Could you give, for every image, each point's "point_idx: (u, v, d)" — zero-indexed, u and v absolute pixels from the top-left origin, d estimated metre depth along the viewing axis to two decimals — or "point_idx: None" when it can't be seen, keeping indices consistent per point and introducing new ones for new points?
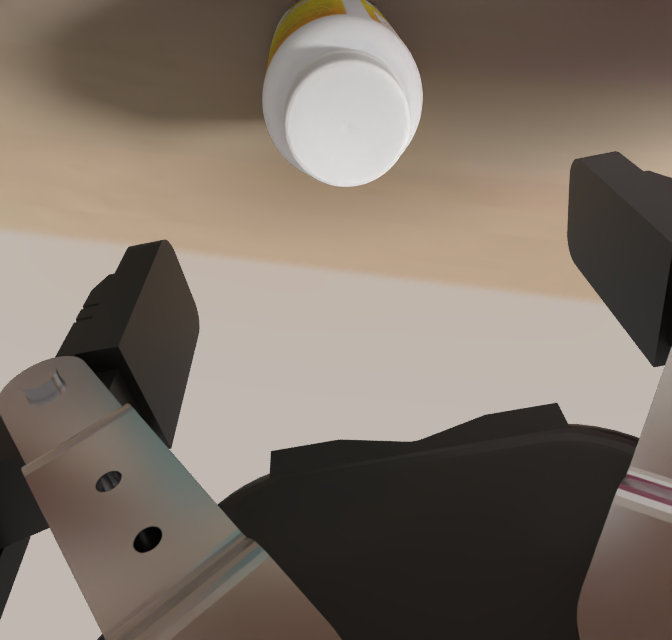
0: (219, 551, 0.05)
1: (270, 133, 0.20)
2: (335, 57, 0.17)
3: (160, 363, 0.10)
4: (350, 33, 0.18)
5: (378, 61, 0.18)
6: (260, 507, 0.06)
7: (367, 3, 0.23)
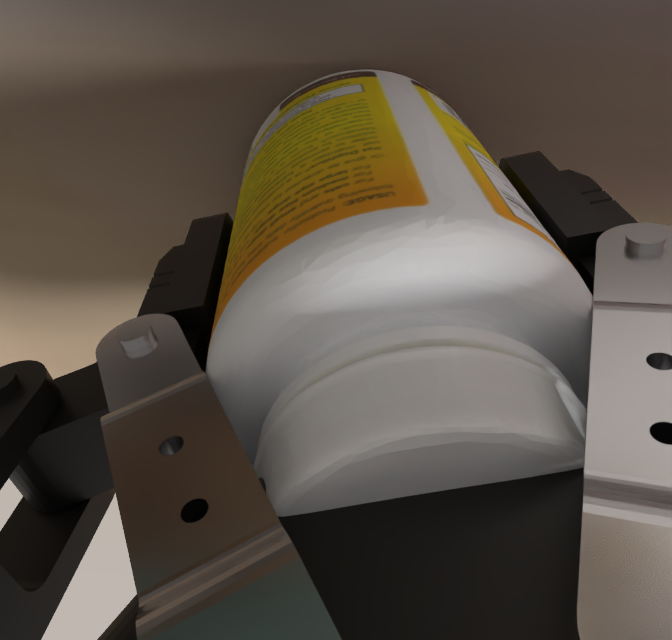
0: (255, 538, 0.05)
1: None
2: (415, 393, 0.05)
3: None
4: (445, 272, 0.06)
5: (536, 374, 0.06)
6: None
7: (441, 109, 0.11)
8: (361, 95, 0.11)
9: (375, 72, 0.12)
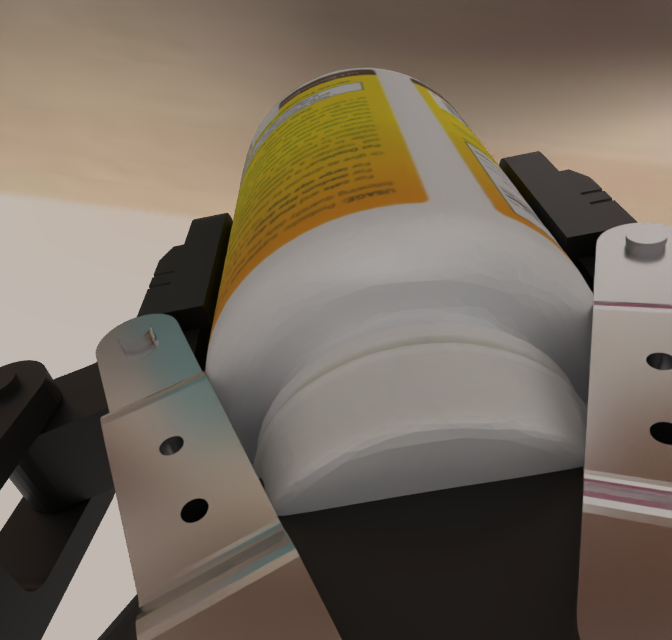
0: (255, 536, 0.05)
1: None
2: (416, 390, 0.05)
3: None
4: (446, 268, 0.06)
5: (537, 370, 0.06)
6: None
7: (441, 107, 0.11)
8: (361, 94, 0.11)
9: (374, 70, 0.12)
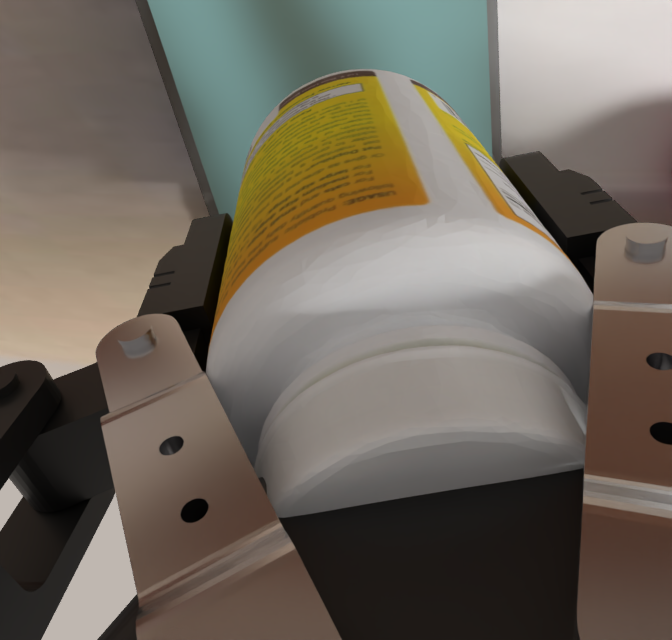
0: (255, 538, 0.05)
1: None
2: (417, 394, 0.05)
3: None
4: (446, 271, 0.06)
5: (538, 373, 0.06)
6: None
7: (441, 109, 0.11)
8: (361, 94, 0.11)
9: (374, 71, 0.12)
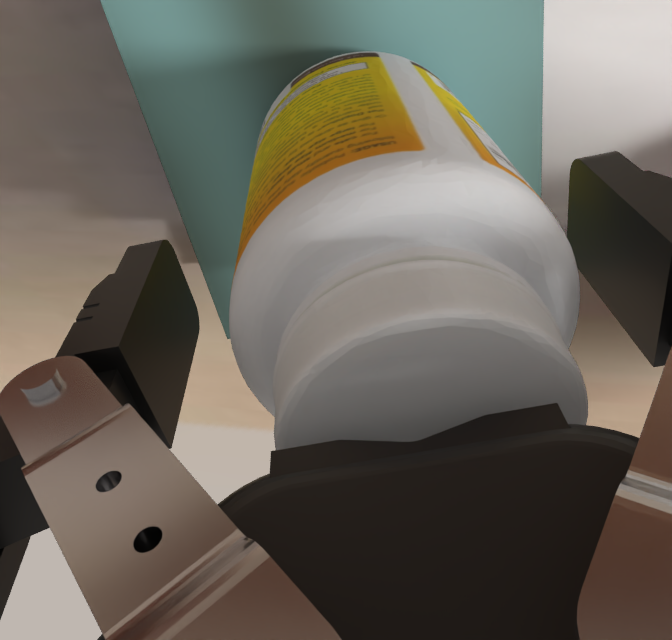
0: (219, 552, 0.05)
1: (247, 382, 0.10)
2: (412, 292, 0.07)
3: (160, 363, 0.10)
4: (438, 203, 0.08)
5: (513, 285, 0.07)
6: (260, 507, 0.06)
7: (437, 85, 0.12)
8: (366, 71, 0.12)
9: (378, 53, 0.13)
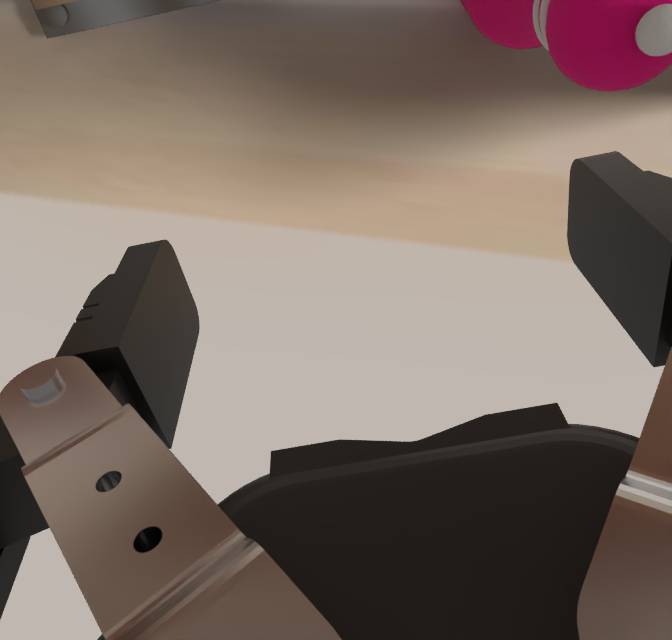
0: (217, 552, 0.05)
1: None
2: None
3: (160, 363, 0.10)
4: None
5: None
6: (260, 507, 0.06)
7: None
8: None
9: None
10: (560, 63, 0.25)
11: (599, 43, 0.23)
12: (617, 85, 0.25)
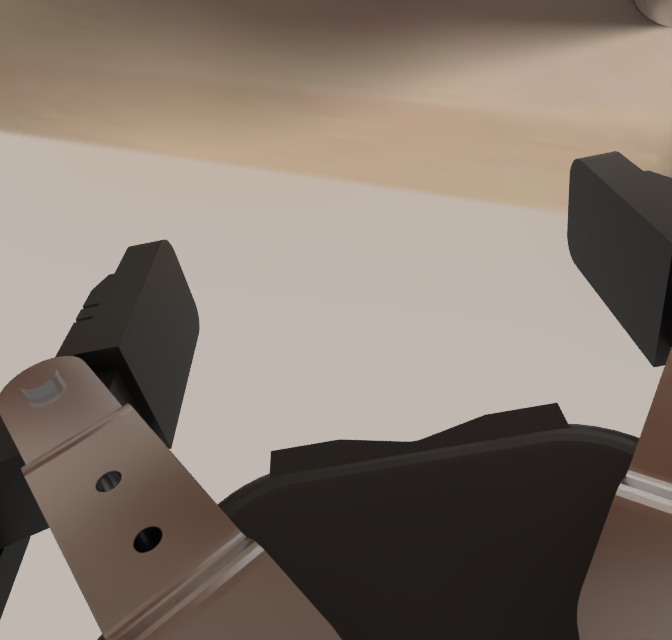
0: (218, 551, 0.05)
1: None
2: None
3: (160, 363, 0.10)
4: None
5: None
6: (260, 507, 0.06)
7: None
8: None
9: None
10: None
11: None
12: None
